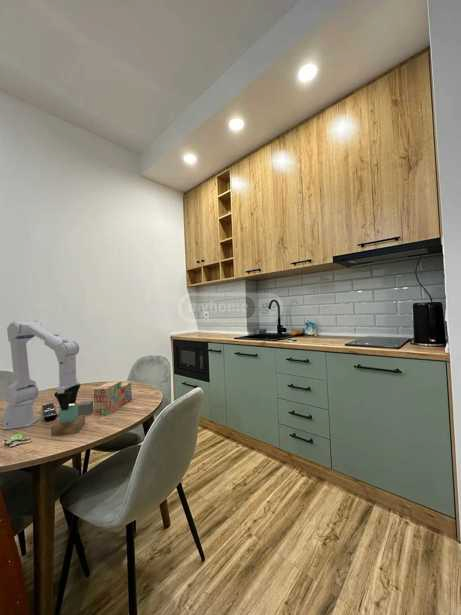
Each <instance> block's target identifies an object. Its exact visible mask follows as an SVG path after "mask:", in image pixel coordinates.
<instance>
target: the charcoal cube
mask: <svg viewBox="0 0 461 615" xmlns="http://www.w3.org/2000/svg"><path fill="white" fill-rule="evenodd" d="M77 405H78V416H79V415H85V417H86V416H90V415H92V413H94V400H88V401H81V402H80V403H79V404H77Z"/></svg>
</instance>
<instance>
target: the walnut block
mask: <svg viewBox="0 0 461 615" xmlns="http://www.w3.org/2000/svg"><path fill="white" fill-rule="evenodd" d="M85 424H86V416H85V415H79V416H78V418H77V419H76V420H75V422H69V423H61V424H60V418H59V419H58V420H56V422H55V423H53V424H52V425H51V426H50V436H51V437H58V436H65V435H72V434H79V432H80V431H81V429H82V428H83V427H84V426H85Z"/></svg>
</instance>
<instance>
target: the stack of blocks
mask: <svg viewBox="0 0 461 615" xmlns="http://www.w3.org/2000/svg"><path fill="white" fill-rule="evenodd" d="M131 399H132V400H133V398H132V384H131V382H128V381H127V382H122V381H121V380H120V381H117V380H116V381H114V380H113V381H108V382H105V383H104V384H102V385H99V386H98V387H97V386H96V387H95V388H93V411H94V416H109V415H110V414H112V413H113V412H116V411H117V410H118V409H120V408H121V407H122V406H123V404H124V405H125V404H127V403H128V401H129V402H130V401H132V400H131ZM120 406H121V407H120Z"/></svg>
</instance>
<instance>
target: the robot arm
mask: <svg viewBox="0 0 461 615" xmlns="http://www.w3.org/2000/svg"><path fill="white" fill-rule="evenodd" d="M6 331H7V332H6V333H7V340H8V342H9V343H10V344H9V345H10V351H11V352H10V354H11V363H12V373H13V382H12V383H11V384H10V385H8V387H7V388H6V395H5V401H6V403H7V404H8V405H7V406H5V408H4V412H3V428H2V430H3V429H4V430H11V429H12V430H13V429H20V428H26V427H28V428H29V427H30V426H32V425H33V424H34V423H36V422H37V421H38V420H39V417H36V418H35V408H34V407H35V406H34V405H35V404H34V403H35V402H36V399H37V398H38V396H39V394H40V393H39V392H40V391H39V388H38V386H37V382H36V380H33V379H31V377H30V369H29V366H30V365H29V358H28V349H27V343H28V342H29V341H30V340H32V339H33V338H34V337H36V338H39V339H40V340H43V342H44V345H45V346H46V347H47V348H49V349H51V350H53V351H54V354H55V356H56V359H57V362H58V375H59V376H58V380H59V381H58V382H59V384H58V388H57V391H56V392H55V393H54V397H55V398H56V400H57V402H58V404H59V408H60V410H62V411H63V410H68V408H69V406H70V405H72V404H74V405H75V404H76V402H77V397H78V392H79V390H80V388H81V384H80V383H81V382H80V381H78V379H77V359H76V358H77V356H76V355H77V354H79V351H80V347H79V344H78V343H77V342H76V341H74V340H72V341H69V340H68V339H66V338H64V337H62V336H61V335H60V333H58V332H57V333H55V332H54V333H51V332H50V331H48V330H47V329H45V328H44V327H43V326H42V323H41V322H39V321H37V320H27V321H15V320H14V321H11V322H10V323H9V325H8V326H7V327H6Z"/></svg>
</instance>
